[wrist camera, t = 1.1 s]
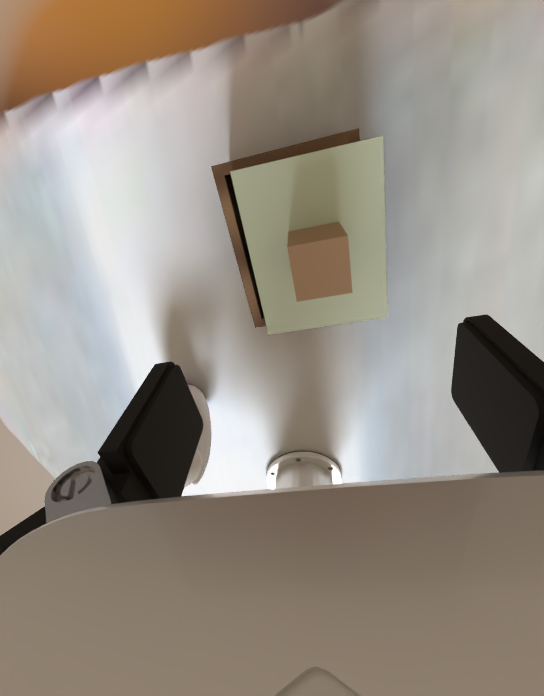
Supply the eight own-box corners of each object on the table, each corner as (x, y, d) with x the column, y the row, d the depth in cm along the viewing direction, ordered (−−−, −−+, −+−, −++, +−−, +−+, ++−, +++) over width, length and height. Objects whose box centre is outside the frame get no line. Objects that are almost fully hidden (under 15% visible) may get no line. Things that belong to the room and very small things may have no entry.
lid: (385, 313, 30) (403, 345, 25) (269, 331, 31) (264, 364, 26) (380, 136, 23) (404, 131, 18) (231, 171, 24) (215, 175, 19)
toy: (158, 369, 45) (104, 456, 32) (204, 356, 43) (165, 442, 30) (194, 426, 50) (160, 520, 37) (236, 416, 48) (215, 511, 36)
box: (356, 279, 36) (370, 308, 30) (262, 296, 38) (255, 327, 31) (343, 134, 29) (358, 128, 23) (229, 163, 31) (211, 166, 24)
